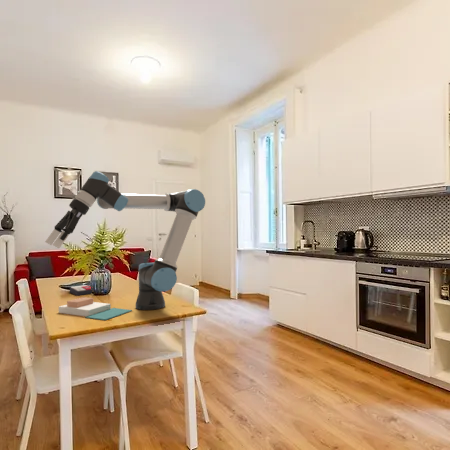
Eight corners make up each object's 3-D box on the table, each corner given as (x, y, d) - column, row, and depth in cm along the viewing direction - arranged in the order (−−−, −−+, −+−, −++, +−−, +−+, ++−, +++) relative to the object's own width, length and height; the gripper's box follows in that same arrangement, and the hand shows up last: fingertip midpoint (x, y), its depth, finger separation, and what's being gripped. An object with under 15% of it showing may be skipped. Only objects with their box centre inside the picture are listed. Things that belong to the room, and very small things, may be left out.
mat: (113, 308, 167) (113, 307, 167) (132, 311, 163) (132, 310, 163) (85, 317, 151) (85, 316, 151) (105, 320, 146) (105, 319, 146)
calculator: (77, 290, 202) (69, 286, 213) (77, 297, 202) (69, 292, 213) (95, 288, 210) (86, 284, 221) (95, 294, 210) (86, 290, 221)
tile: (83, 302, 171) (83, 297, 171) (93, 303, 168) (93, 298, 168) (67, 306, 161) (67, 301, 161) (77, 307, 159) (77, 302, 159)
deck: (81, 306, 174) (81, 300, 174) (110, 309, 166) (110, 303, 166) (58, 312, 161) (58, 306, 161) (88, 316, 153) (88, 310, 153)
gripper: (66, 198, 148) (37, 238, 141) (83, 197, 129) (50, 243, 122) (81, 207, 152) (53, 246, 146) (99, 208, 133) (68, 253, 126)
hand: (51, 245), depth 134 cm, fingers open, 13 cm apart
